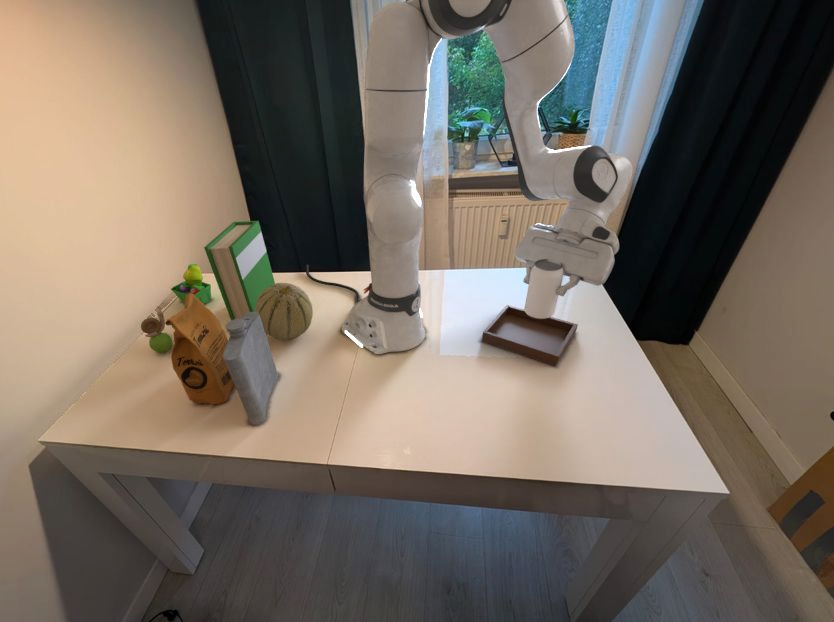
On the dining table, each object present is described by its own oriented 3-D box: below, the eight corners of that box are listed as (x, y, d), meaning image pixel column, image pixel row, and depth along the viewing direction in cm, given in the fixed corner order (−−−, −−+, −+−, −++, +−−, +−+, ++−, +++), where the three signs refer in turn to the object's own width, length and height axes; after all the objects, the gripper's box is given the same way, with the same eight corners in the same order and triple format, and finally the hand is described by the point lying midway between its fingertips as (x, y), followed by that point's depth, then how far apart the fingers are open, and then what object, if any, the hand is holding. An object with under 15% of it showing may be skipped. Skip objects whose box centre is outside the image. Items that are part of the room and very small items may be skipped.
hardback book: (258, 327, 106) (232, 246, 91) (233, 327, 107) (204, 247, 93) (278, 295, 120) (258, 220, 105) (256, 295, 121) (233, 221, 106)
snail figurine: (182, 347, 102) (164, 309, 94) (159, 359, 98) (138, 321, 91) (174, 340, 105) (155, 303, 97) (151, 351, 101) (130, 314, 94)
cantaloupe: (267, 322, 108) (252, 274, 99) (317, 316, 108) (308, 268, 99) (259, 354, 96) (241, 303, 87) (316, 347, 97) (305, 297, 87)
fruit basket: (175, 302, 122) (160, 270, 115) (197, 290, 128) (185, 259, 121) (198, 310, 117) (184, 277, 110) (220, 297, 122) (208, 265, 115)
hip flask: (263, 424, 77) (233, 348, 65) (244, 425, 78) (210, 349, 65) (279, 373, 90) (257, 300, 78) (263, 373, 90) (238, 302, 78)
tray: (481, 341, 93) (482, 332, 91) (505, 313, 102) (506, 304, 100) (555, 366, 84) (558, 356, 82) (575, 333, 92) (578, 324, 91)
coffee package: (184, 407, 83) (139, 325, 70) (208, 369, 93) (171, 291, 80) (227, 407, 82) (189, 324, 69) (246, 369, 92) (216, 290, 78)
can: (549, 304, 90) (560, 257, 82) (557, 319, 85) (569, 270, 77) (521, 305, 91) (529, 258, 83) (527, 320, 85) (536, 271, 78)
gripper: (528, 215, 86) (497, 269, 88) (624, 236, 73) (586, 299, 75) (536, 228, 91) (506, 279, 92) (627, 250, 78) (590, 309, 79)
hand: (542, 288), depth 83 cm, fingers closed on can, 6 cm apart
